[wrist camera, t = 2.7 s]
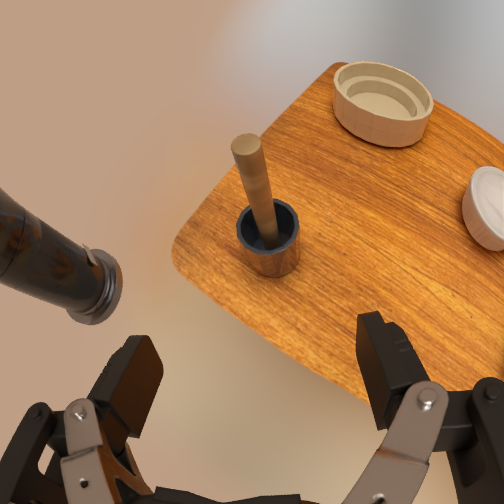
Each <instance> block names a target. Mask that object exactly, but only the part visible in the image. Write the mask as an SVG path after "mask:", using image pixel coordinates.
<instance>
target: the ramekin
mask: <svg viewBox="0 0 504 504" xmlns="http://www.w3.org/2000/svg"><path fill="white" fill-rule="evenodd" d="M462 214H463V219H464V222H465V225H466V227H467V229H468V231H469V233H470V234H471V236H472V237H473V238H474V239H475V240H476V241H477V242H478V243H479V244H480V245H481V246H483V247H484V248H486V249H489V250H492V251H501V250H504V172H503V171H501V170H500V169H498V168H495V167H490V166H483V167H480V168H478V169H477V170H476V171H475V172H474V173H473V174H472V176H471V178H470V181H469V185H468V187H467V190H466V192H465V194H464V197H463V201H462Z"/></svg>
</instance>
